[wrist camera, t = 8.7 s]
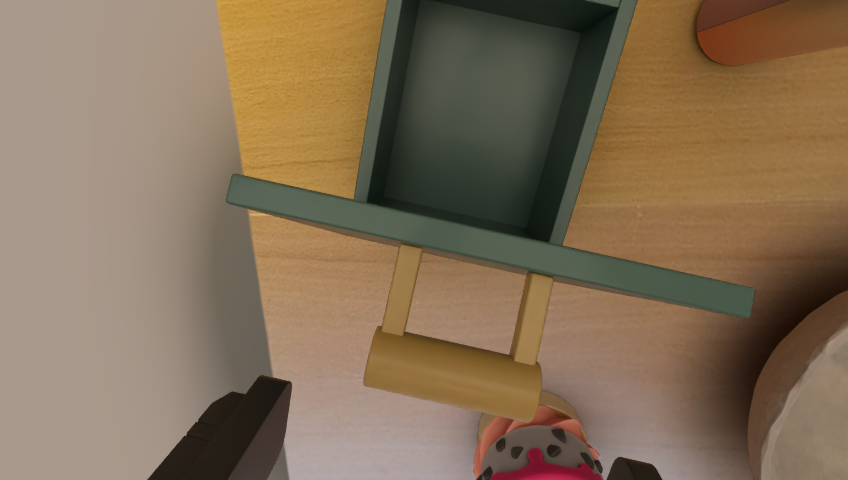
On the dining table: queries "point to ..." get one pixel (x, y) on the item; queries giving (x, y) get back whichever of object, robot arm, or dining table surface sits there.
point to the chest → (489, 109)
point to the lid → (540, 261)
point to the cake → (536, 446)
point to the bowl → (804, 401)
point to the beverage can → (770, 28)
